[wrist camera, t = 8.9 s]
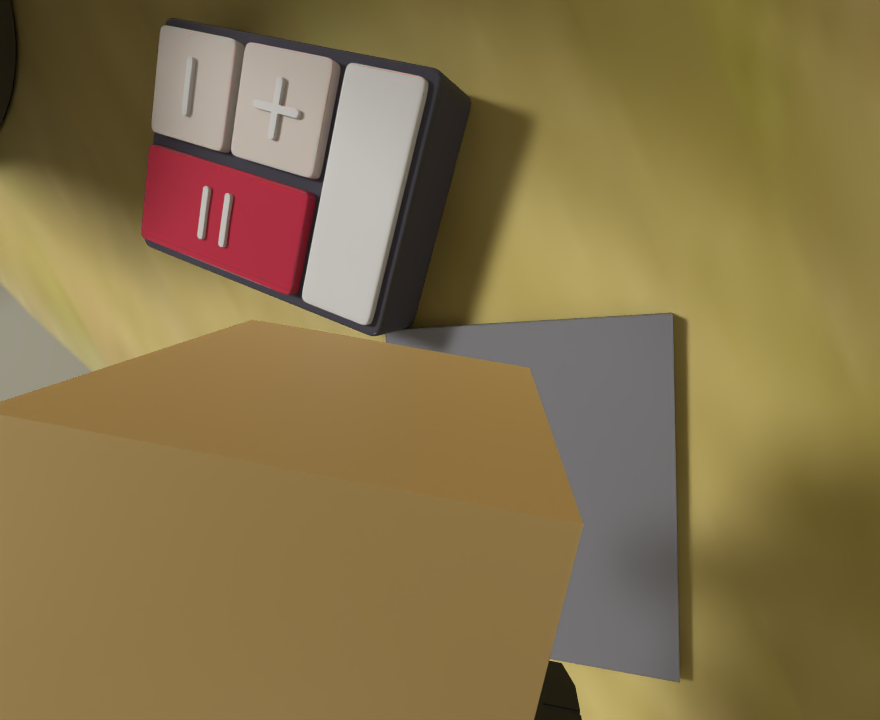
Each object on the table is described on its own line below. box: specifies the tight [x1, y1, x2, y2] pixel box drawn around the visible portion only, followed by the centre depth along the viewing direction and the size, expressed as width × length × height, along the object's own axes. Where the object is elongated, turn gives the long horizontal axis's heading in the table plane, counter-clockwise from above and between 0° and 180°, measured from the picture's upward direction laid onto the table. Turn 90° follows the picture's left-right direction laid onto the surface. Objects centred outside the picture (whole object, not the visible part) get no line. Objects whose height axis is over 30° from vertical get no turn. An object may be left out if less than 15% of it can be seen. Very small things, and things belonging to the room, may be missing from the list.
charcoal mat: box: [385, 313, 680, 682], centre depth 24 cm, size 17×13×1 cm
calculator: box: [142, 18, 471, 336], centre depth 24 cm, size 11×4×15 cm
